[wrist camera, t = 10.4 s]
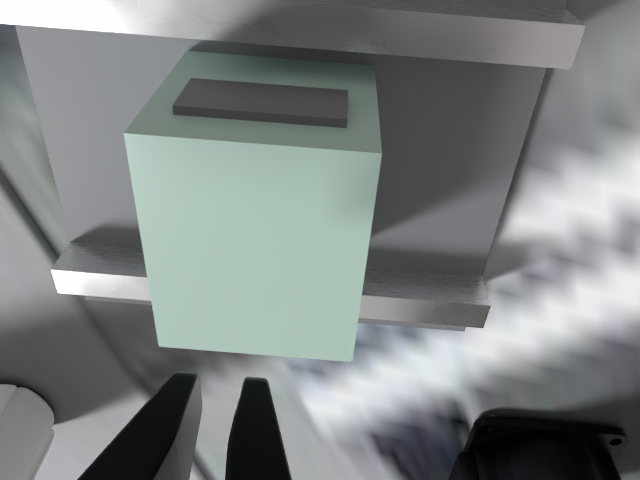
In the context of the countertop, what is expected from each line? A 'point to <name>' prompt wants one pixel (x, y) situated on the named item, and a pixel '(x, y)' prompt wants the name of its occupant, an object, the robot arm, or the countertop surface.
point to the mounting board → (316, 45)
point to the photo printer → (23, 432)
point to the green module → (257, 202)
